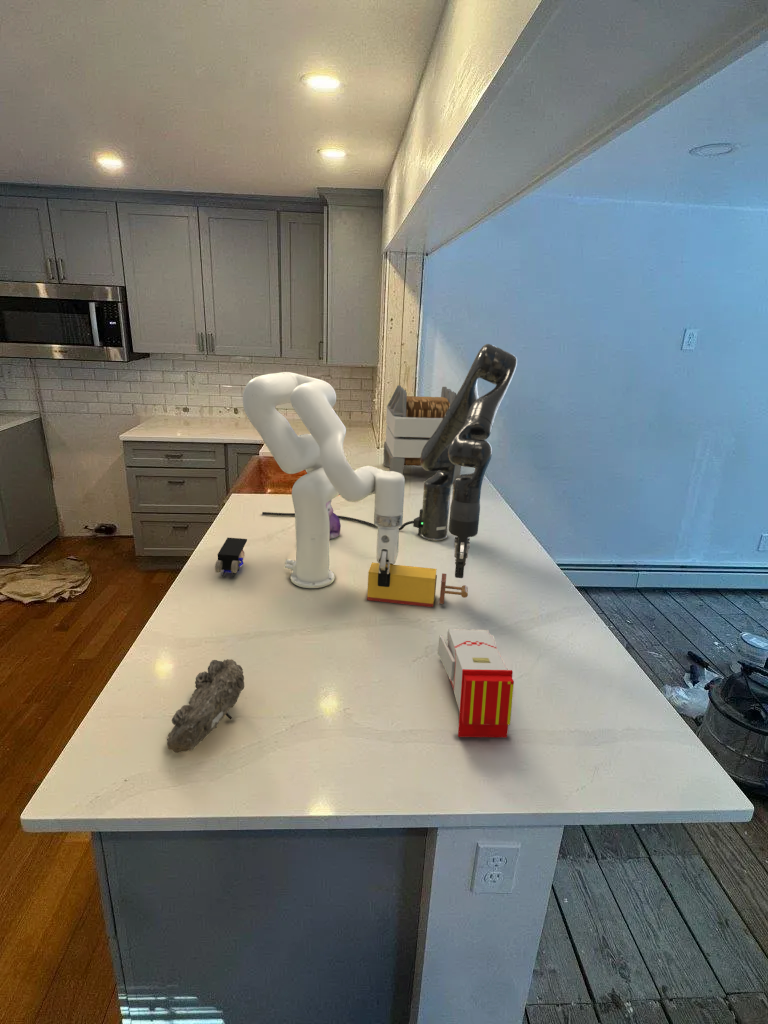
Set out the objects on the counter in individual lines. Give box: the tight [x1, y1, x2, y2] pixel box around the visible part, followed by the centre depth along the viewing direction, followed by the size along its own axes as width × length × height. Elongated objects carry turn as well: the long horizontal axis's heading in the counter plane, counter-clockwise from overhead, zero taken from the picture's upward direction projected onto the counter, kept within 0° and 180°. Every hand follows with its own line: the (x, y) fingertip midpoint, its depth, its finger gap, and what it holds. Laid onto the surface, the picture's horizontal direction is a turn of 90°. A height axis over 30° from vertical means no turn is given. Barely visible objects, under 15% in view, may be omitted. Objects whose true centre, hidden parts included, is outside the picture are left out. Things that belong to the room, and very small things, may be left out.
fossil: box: [166, 658, 245, 754], centre depth 106 cm, size 22×10×15 cm
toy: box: [437, 628, 515, 738], centre depth 117 cm, size 12×13×30 cm
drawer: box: [434, 573, 469, 605], centre depth 153 cm, size 23×5×7 cm, turn 82°
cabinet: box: [366, 562, 438, 608], centre depth 154 cm, size 18×6×8 cm, turn 82°
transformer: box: [383, 384, 462, 484], centre depth 268 cm, size 34×33×41 cm
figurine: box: [326, 499, 342, 539], centre depth 193 cm, size 9×10×15 cm
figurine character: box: [214, 537, 248, 578], centre depth 166 cm, size 7×8×15 cm
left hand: (385, 579), depth 154 cm, fingers closed on cabinet, 6 cm apart
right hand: (458, 576), depth 151 cm, fingers closed
